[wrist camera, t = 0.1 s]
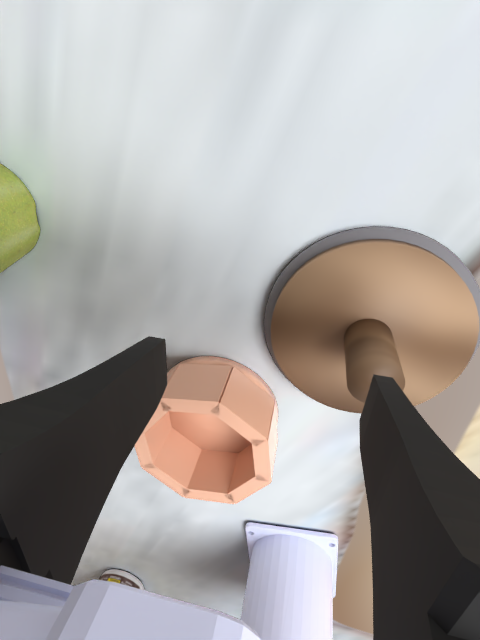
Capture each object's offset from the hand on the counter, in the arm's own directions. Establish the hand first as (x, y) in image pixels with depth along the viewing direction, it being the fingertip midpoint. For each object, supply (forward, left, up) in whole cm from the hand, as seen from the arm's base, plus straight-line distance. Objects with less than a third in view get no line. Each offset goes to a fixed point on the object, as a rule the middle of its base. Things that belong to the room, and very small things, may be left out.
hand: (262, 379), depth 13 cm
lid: (-3, -4, -10) cm, 11 cm away
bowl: (-10, +6, -10) cm, 16 cm away
